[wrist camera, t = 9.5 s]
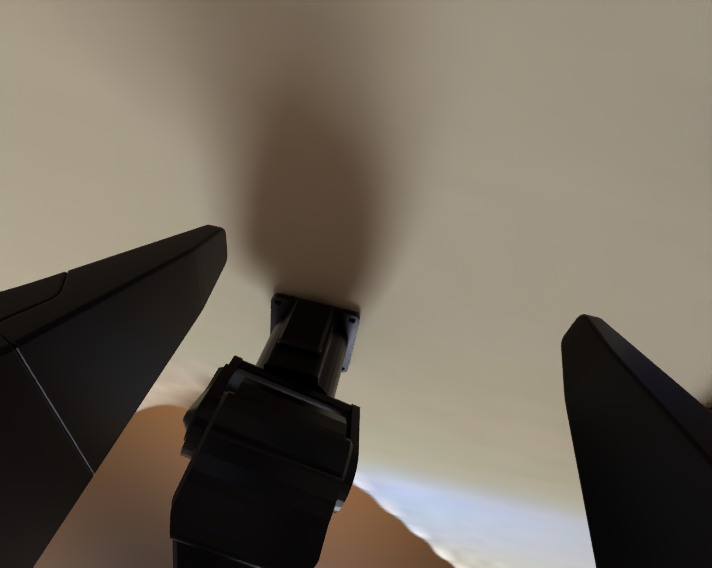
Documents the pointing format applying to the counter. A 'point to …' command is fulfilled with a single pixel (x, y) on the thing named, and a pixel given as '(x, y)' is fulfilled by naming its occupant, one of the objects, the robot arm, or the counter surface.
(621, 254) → the counter surface
